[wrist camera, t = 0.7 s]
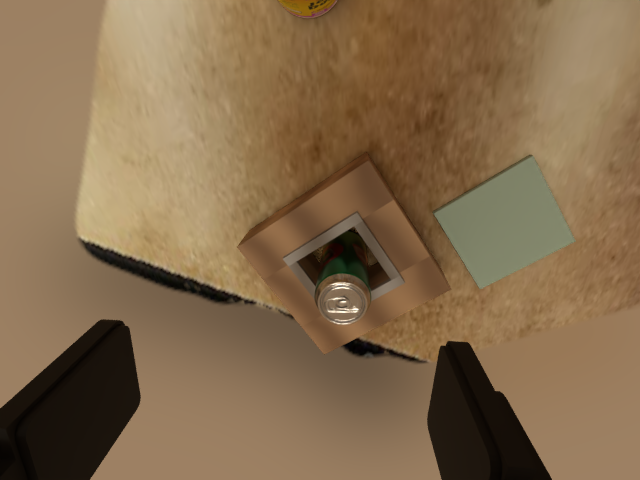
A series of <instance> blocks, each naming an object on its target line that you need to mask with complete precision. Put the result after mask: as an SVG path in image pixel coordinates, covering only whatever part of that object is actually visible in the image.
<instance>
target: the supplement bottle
mask: <svg viewBox="0 0 640 480" xmlns="http://www.w3.org/2000/svg"><path fill="white" fill-rule="evenodd" d="M278 1H279V3H280V4H281V5H282V6H283V7H284V8H285V9H286V10H287V11H288V12H290V13H291V14H293V15H295V16H298V17H302V18H315V17H318V16H321V15H323V14H325V13H326V12H328V11H329V10H330V9H331V8H332V7H333V6H334V5H335V4H336V2H337V1H338V0H278Z"/></svg>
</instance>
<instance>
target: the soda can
mask: <svg viewBox="0 0 640 480" xmlns="http://www.w3.org/2000/svg"><path fill="white" fill-rule="evenodd" d="M314 298H315V303H316V306H317V307H318V309H319V311H320V313H321V314H322V316H323V317H324V318H325V319H327V320H328V321H330V322H332V323H334V324H338V325H348V324H352V323H355V322H357V321H358V320H360V319H361V318H362V317H363V315H364V314H365V312H366V311H367V310H368V308H369V306H370V303H371V288H370V278H369V267H368V257H367V248H366V244H365V242H364V240H363V239H362V238H361V237H360V236H359V235H358V234H356V233H354V232H351V231H345V232H344V233H342V234H341V235H339V236H337V237H336V238H334V239H332V240H331V241H329V242H328V243H326V244H324V245H323V250H322V255H321V261H320V266H319V272H318V277H317V283H316V288H315V295H314Z"/></svg>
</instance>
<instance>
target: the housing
mask: <svg viewBox="0 0 640 480" xmlns="http://www.w3.org/2000/svg"><path fill="white" fill-rule="evenodd" d="M352 227H355V228H356V230H357V231H358V233H359V234H360V236H361V237H362V238H363V240H364V241H365V243H366V244H367V246H368V247H369V249H370V250H371V251H372V253H373V254H374V256H375V257H376V259H377V260H378V263H376V264H374V265H373V266H371V267H369V278H370V288H371V303H370V306H369V308H368V310H367V311H366V312H365V314H364V315H363V317H362V318H361V319H360V320H358V321H357V322H355V323H352V324H348V325H338V324H334V323H332V322H330V321H328V320H327V319H325V318H324V317H323V316H322V314H321V313H320V311H319V309H318V307H317V306H316V303H315V298H314V295H315V288H316V283H317V277H318V272H319V266H320V263H319V262H318V261H317V259H316V258H315V257H314V255H313V254H312V253H311V252H313V251H314V250H316V249H318V248H319V247H321V246H323V245H324V244H326V243H328V242H329V241H331V240H332V239H334V238H336V237H337V236H339V235H341V234H342V233H344V232H345V231H347V230H349V229H350V228H352ZM237 248H238V249H239V251H240V252H241V253H242V254H243V255H244V257H245V258H246V259H247V260H248V262H249V263H250V264H251V265H252V266H253V268H254V269H255V270H256V271H257V273H258V274H259V275H260V276H261V278H262V279H263V280H264V281H265V282H266V284H267V285H268V286H269V287H270V289H271V290H272V291H273V292H274V294H275V295H276V296H277V297H278V298H279V300H280V301H281V302H282V303H283V305H284V306H285V307H286V308H287V309H288V311H289V312H290V313H291V314H292V316H293V317H294V318H295V319H296V321H297V322H298V323H299V324H300V325H301V327H302V328H303V329H304V330H305V332H306V333H307V334H308V335H309V336H310V338H311V339H312V340H313V341H314V343H315V344H316V345H317V346H318V348H320V350H321V351H322V352H323V354H326V353H328V352H330V351H332V350H334V349H336V348H338V347H340V346H342V345H344V344H346V343H348V342H350V341H352V340H354V339H356V338H358V337H360V336H362V335H364V334H365V333H367V332H369V331H371V330H373V329H375V328H377V327H379V326H381V325H383V324H385V323H387V322H389V321H391V320H393V319H395V318H397V317H399V316H401V315H403V314H404V313H406V312H408V311H410V310H412V309H414V308H416V307H418V306H420V305H422V304H424V303H426V302H428V301H430V300H432V299H434V298H436V297H438V296H440V295H441V294H443V293H445V292H447V291H449V290H451V288H450V286H449V284H448V282H447V280H446V278H445V276H444V274H443V272H442V270H441V268H440V266H439V265H438V263H437V262H436V260H435V259H434V257H433V255H432V254H431V252H430V251H429V249H428V248H427V246H426V245H425V243H424V241H423V240H422V238H421V237H420V235H419V234H418V232H417V230H416V229H415V227H414V226H413V224H412V223H411V221H410V219H409V218H408V216H407V215H406V213H405V212H404V210H403V208H402V207H401V205H400V204H399V202H398V201H397V199H396V197H395V196H394V194H393V193H392V191H391V190H390V188H389V186H388V185H387V183H386V182H385V180H384V179H383V177H382V176H381V174H380V172H379V171H378V169H377V168H376V166H375V165H374V163H373V161H372V160H371V158H370V157H369V155H368V154H367V152H366V153H364V154H363V155H361V156H360V157H358V158H357V159H355V160H354V161H352V162H351V163H349V164H348V165H346V166H345V167H343V168H342V169H340V170H339V171H337V172H336V173H334V174H333V175H331V176H330V177H328V178H327V179H325V180H324V181H322V182H321V183H319V184H318V185H317V186H315V187H314V188H312V189H311V190H309V191H308V192H306V193H305V194H303V195H302V196H300V197H299V198H297V199H296V200H294V201H293V202H291V203H290V204H288V205H287V206H285V207H284V208H282V209H281V210H279V211H278V212H276V213H275V214H273V215H272V216H270V217H269V218H267V219H266V220H264V221H263V222H261V223H260V224H258V225H257V226H255V227H254V228H252V229H251V230H249V232H248V233H247V234H246V236H245V237H244V238H243V240H242V241H241V242H240V244H239V245H238V247H237Z"/></svg>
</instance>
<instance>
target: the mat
mask: <svg viewBox="0 0 640 480" xmlns="http://www.w3.org/2000/svg"><path fill="white" fill-rule="evenodd" d="M433 214H434V215H435V217H436V218H437V220H438V222H439V223H440V225H441V227H442V228H443V230H444V231H445V233H446V235H447V236H448V238H449V240H450V241H451V243H452V245H453V246H454V248H455V249H456V251H457V253H458V254H459V256H460V258H461V259H462V261H463V262H464V264H465V266H466V267H467V269H468V271H469V272H470V274H471V276H472V277H473V279H474V280H475V282H476V284H477V285H478V287H479V288H480V289H482V288H484V287H486V286H488V285H490V284H492V283H494V282H496V281H498V280H500V279H502V278H504V277H506V276H508V275H510V274H512V273H514V272H516V271H518V270H520V269H522V268H524V267H526V266H528V265H530V264H531V263H533V262H535V261H537V260H539V259H541V258H543V257H545V256H547V255H549V254H551V253H553V252H555V251H557V250H559V249H561V248H563V247H565V246H567V245H569V244H571V243H573V242H575V239H574V237H573V235H572V233H571V231H570V229H569V227H568V225H567V223H566V221H565V219H564V217H563V215H562V213H561V211H560V209H559V207H558V205H557V203H556V201H555V199H554V197H553V195H552V193H551V191H550V189H549V187H548V185H547V183H546V181H545V179H544V177H543V175H542V173H541V171H540V169H539V167H538V165H537V163H536V161H535V159H534V157H533V155H529V156H527V157H526V158H524V159H522V160H521V161H519V162H517V163H515V164H514V165H512V166H510V167H509V168H507V169H505V170H503V171H502V172H500V173H498V174H497V175H495V176H493V177H491V178H490V179H488V180H486V181H485V182H483V183H481V184H479V185H478V186H476V187H474V188H473V189H471V190H469V191H468V192H466V193H464V194H462V195H461V196H459V197H457V198H456V199H454V200H452V201H450V202H449V203H447V204H445V205H444V206H442V207H440V208H438V209H437V210H435V211H433Z"/></svg>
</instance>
